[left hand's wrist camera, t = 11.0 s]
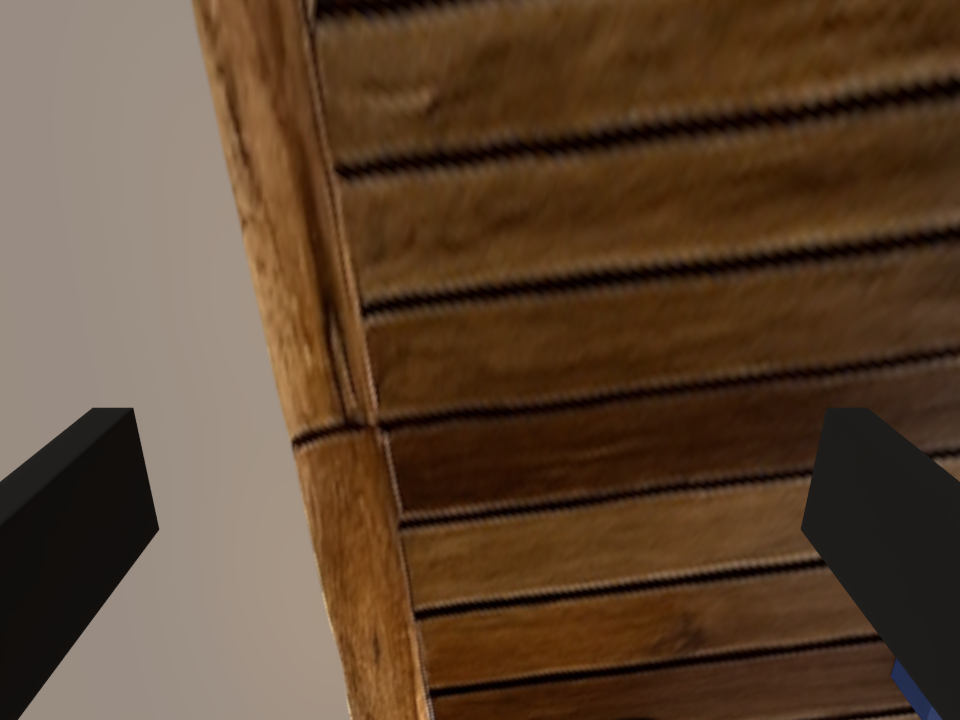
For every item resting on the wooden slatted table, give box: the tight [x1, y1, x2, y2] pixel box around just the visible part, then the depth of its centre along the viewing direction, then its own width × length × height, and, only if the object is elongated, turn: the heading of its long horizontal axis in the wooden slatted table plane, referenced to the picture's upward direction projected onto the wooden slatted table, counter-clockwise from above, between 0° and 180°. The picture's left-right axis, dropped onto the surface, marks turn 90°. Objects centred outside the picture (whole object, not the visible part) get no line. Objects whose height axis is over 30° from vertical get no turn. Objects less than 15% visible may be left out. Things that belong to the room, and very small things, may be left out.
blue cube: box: [891, 658, 942, 720], centre depth 52 cm, size 5×5×5 cm
